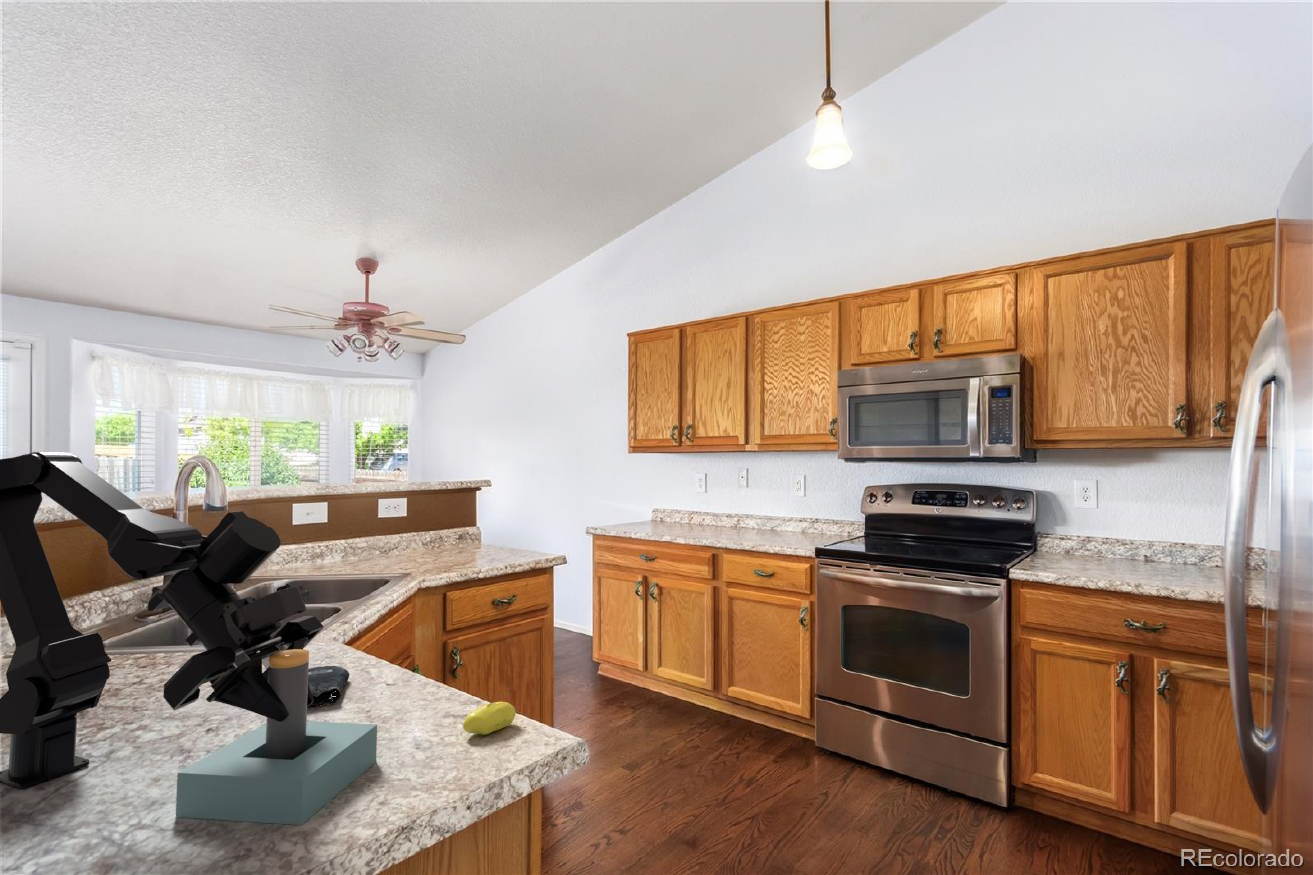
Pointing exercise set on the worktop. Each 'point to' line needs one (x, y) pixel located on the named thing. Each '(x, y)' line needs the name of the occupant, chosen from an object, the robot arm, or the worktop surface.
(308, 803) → the socket
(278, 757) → the plug
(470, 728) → the lemon
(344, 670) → the electronic device
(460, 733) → the worktop surface
